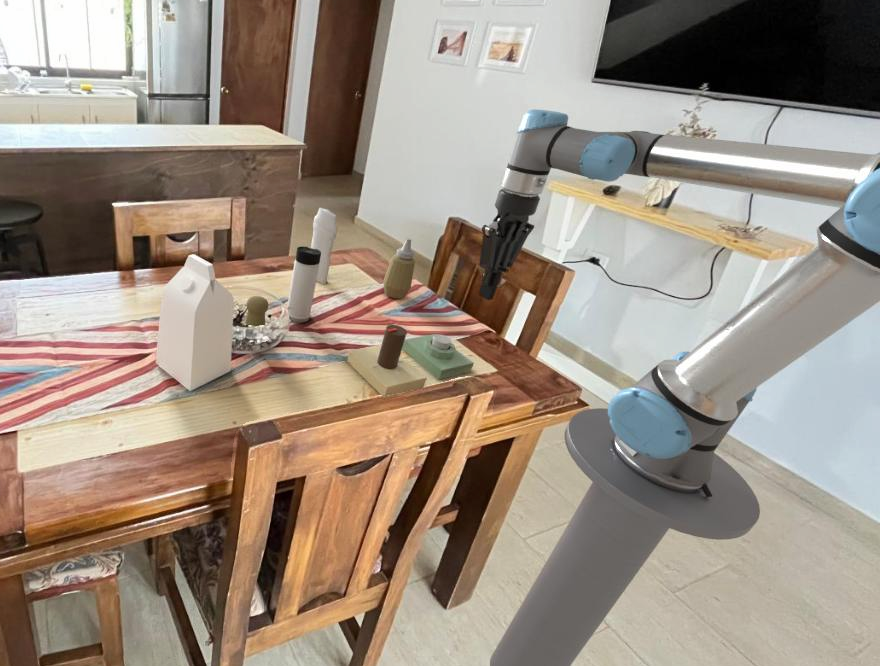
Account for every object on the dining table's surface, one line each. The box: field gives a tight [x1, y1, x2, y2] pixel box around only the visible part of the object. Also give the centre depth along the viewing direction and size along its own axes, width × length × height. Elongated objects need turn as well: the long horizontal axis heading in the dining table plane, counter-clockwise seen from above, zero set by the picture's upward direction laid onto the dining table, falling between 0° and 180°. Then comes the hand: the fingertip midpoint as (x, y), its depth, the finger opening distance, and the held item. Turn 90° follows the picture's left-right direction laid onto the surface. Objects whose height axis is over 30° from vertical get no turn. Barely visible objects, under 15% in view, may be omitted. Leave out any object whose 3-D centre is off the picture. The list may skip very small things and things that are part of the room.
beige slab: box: [346, 343, 427, 397], centre depth 117 cm, size 14×11×3 cm
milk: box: [155, 253, 235, 392], centre depth 107 cm, size 12×12×26 cm
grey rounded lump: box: [432, 333, 452, 350], centre depth 123 cm, size 4×4×2 cm
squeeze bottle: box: [383, 238, 416, 300], centre depth 151 cm, size 8×8×18 cm
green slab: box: [402, 333, 475, 380], centre depth 124 cm, size 13×10×4 cm
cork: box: [244, 295, 269, 326], centre depth 124 cm, size 6×6×11 cm
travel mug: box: [286, 246, 321, 323], centre depth 133 cm, size 6×7×20 cm
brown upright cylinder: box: [377, 324, 408, 369], centre depth 114 cm, size 4×4×9 cm
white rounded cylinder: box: [310, 207, 338, 285], centre depth 155 cm, size 11×4×22 cm, turn 29°
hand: (485, 296), depth 113 cm, fingers closed
